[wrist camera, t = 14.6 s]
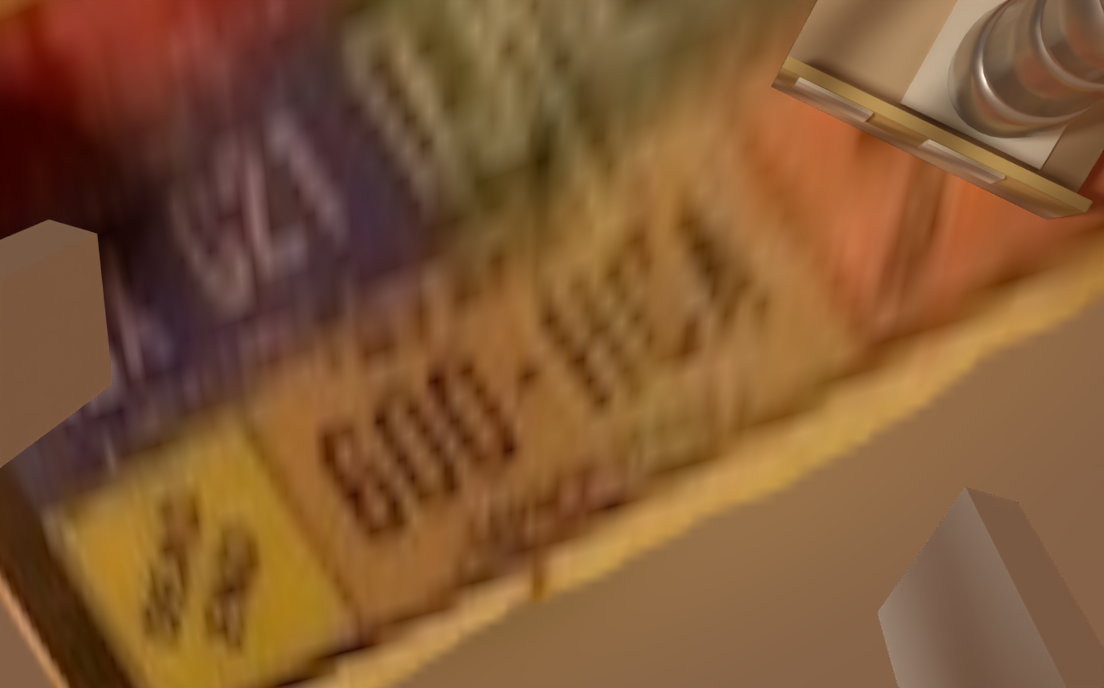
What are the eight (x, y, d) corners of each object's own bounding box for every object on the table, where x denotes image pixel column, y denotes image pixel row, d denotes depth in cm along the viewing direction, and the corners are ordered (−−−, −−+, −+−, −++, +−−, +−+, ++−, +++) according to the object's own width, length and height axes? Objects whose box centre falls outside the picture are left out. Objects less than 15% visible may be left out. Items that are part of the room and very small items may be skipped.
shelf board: (769, 89, 39) (780, 70, 36) (856, -72, 38) (875, -108, 35) (1044, 222, 38) (1083, 216, 34) (1144, 59, 37) (1194, 36, 33)
